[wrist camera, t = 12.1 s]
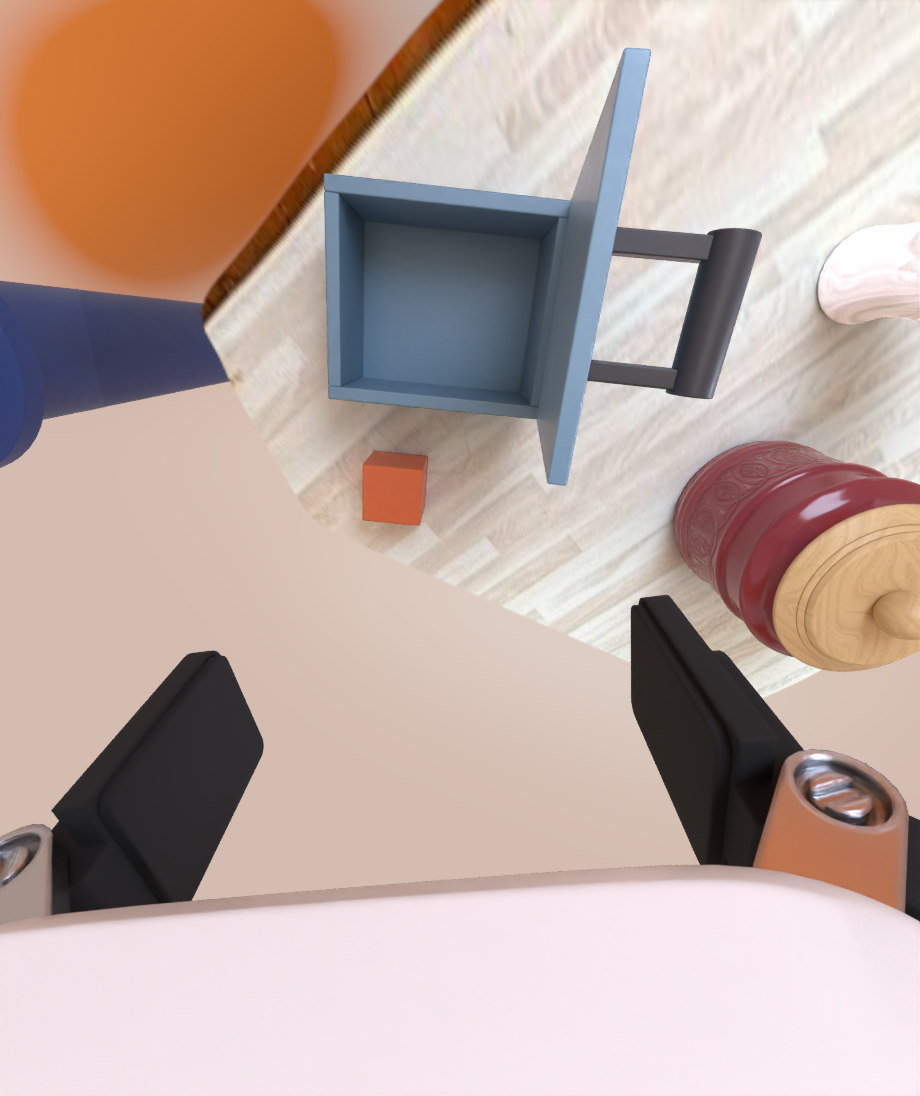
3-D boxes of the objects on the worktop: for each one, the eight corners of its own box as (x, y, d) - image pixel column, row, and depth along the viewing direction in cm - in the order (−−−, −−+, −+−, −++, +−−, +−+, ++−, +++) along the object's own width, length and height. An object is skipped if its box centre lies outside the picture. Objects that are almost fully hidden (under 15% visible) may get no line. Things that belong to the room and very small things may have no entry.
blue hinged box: (355, 386, 37) (328, 398, 30) (355, 207, 32) (323, 172, 25) (527, 403, 37) (540, 419, 30) (552, 229, 32) (576, 200, 25)
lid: (546, 484, 17) (704, 504, 16) (624, 45, 12) (851, 58, 12) (536, 420, 30) (624, 430, 29) (571, 198, 25) (677, 206, 25)
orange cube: (372, 501, 41) (362, 520, 37) (373, 450, 39) (362, 464, 35) (424, 506, 41) (419, 526, 37) (428, 455, 39) (423, 470, 35)
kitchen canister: (688, 434, 38) (848, 507, 22) (849, 439, 38) (1127, 517, 22) (655, 576, 43) (765, 718, 27) (796, 581, 43) (988, 727, 27)
